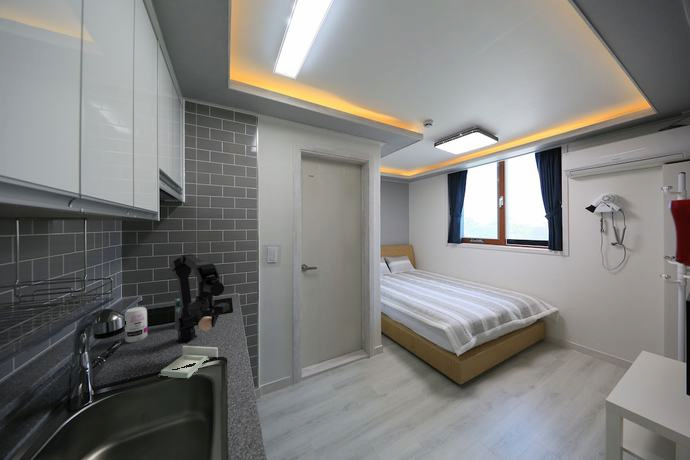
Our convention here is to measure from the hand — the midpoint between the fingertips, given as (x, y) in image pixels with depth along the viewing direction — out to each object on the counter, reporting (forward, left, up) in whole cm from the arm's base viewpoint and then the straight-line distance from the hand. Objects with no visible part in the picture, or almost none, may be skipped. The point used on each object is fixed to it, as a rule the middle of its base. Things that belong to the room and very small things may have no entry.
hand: (206, 326), depth 103 cm
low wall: (-1, -3, -12) cm, 12 cm away
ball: (0, 0, -2) cm, 2 cm away
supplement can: (-43, +8, -12) cm, 45 cm away
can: (-33, +25, -12) cm, 43 cm away
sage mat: (-1, -11, -12) cm, 16 cm away
